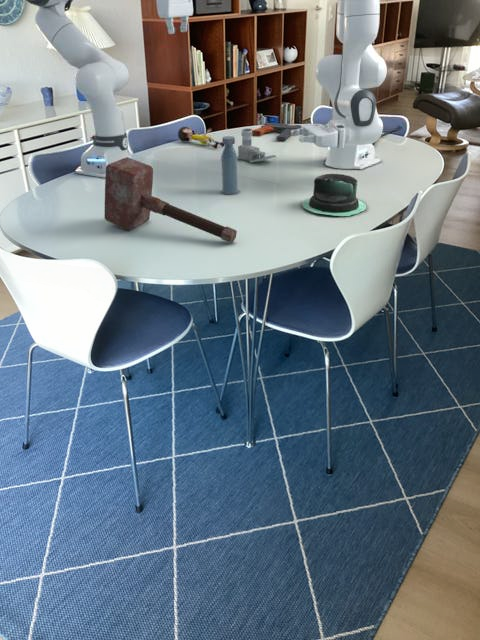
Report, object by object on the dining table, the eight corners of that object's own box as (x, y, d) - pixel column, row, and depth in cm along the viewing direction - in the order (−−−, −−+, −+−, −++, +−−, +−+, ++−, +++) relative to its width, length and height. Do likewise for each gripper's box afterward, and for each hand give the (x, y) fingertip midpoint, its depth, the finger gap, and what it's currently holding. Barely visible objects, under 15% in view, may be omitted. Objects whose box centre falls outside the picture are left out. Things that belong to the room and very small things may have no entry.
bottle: (226, 195, 187) (224, 141, 178) (220, 191, 191) (217, 138, 182) (240, 193, 189) (239, 139, 180) (233, 188, 193) (232, 136, 184)
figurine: (211, 139, 238) (170, 125, 250) (210, 157, 242) (170, 142, 255) (230, 134, 247) (190, 120, 259) (229, 150, 251) (189, 136, 263)
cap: (225, 145, 180) (225, 139, 179) (220, 143, 183) (220, 137, 182) (236, 143, 181) (236, 137, 180) (231, 141, 184) (231, 135, 183)
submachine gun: (243, 132, 260) (267, 122, 278) (243, 138, 261) (267, 127, 280) (305, 138, 246) (326, 127, 265) (305, 144, 248) (326, 133, 266)
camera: (247, 126, 226) (276, 132, 217) (247, 155, 232) (275, 162, 223) (233, 130, 220) (262, 135, 212) (233, 160, 226) (261, 166, 218)
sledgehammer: (247, 201, 148) (125, 155, 160) (230, 213, 141) (104, 163, 152) (236, 257, 158) (122, 210, 170) (220, 270, 151) (102, 220, 162)
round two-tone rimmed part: (371, 195, 181) (367, 217, 164) (320, 217, 189) (311, 241, 173) (352, 153, 175) (346, 172, 159) (300, 178, 184) (289, 199, 168)
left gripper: (179, -16, 185) (182, 30, 192) (151, -17, 169) (155, 34, 176) (196, -17, 183) (198, 30, 190) (170, -17, 167) (173, 34, 174)
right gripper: (325, 118, 195) (287, 120, 193) (346, 129, 177) (304, 132, 175) (324, 136, 198) (287, 139, 196) (344, 149, 181) (304, 152, 178)
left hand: (177, 32), depth 183 cm, fingers open, 8 cm apart
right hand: (295, 136), depth 185 cm, fingers open, 8 cm apart
